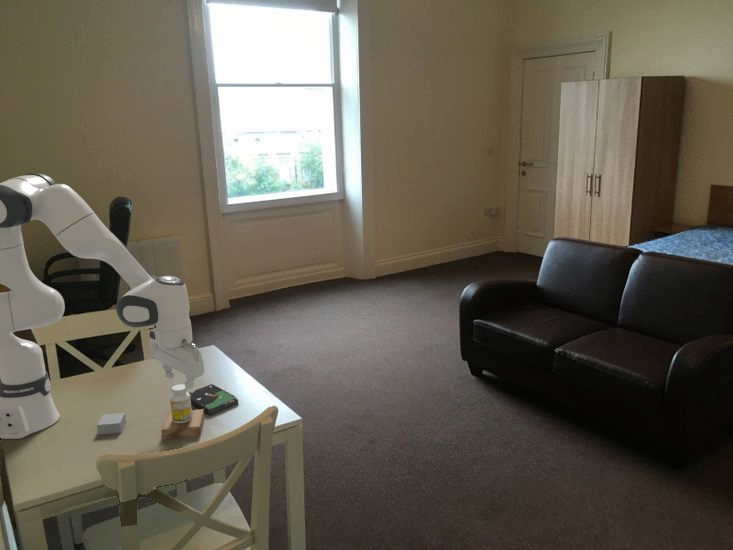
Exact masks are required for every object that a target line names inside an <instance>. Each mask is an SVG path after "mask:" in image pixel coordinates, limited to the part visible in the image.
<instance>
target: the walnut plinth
mask: <svg viewBox="0 0 733 550" xmlns="http://www.w3.org/2000/svg"><path fill="white" fill-rule="evenodd" d="M204 422H205V414H204V409H200V410H198V409H192V419H191V420H190V421H188V422H186V423H175V422H174V421H173V420H172V412H171V411H168V412H167V413H166V415H165V419H164V422H163V423H162V424H163V425H162V427H161V439H162V441H163V440H165V441H166V440H175V439H184V438H187V437H188V438H196V437H197V438H198V437H201V436H202V433H203V432H202V431H203V427H204V424H205V423H204ZM201 432H202V433H201Z"/></svg>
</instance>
